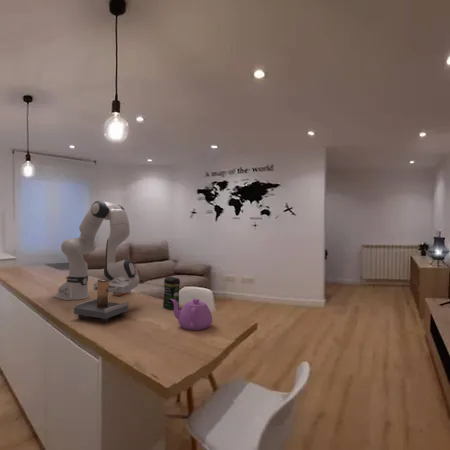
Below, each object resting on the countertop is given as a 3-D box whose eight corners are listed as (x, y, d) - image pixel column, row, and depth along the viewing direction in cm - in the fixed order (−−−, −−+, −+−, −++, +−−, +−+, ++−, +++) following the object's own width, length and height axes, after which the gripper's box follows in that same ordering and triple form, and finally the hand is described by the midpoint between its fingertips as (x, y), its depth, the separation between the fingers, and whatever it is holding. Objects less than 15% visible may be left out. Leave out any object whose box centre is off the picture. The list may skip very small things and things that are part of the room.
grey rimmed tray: (73, 319, 172) (74, 304, 171) (98, 311, 188) (98, 297, 188) (105, 324, 165) (106, 309, 165) (128, 315, 182) (128, 302, 182)
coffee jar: (160, 307, 202) (161, 276, 202) (171, 305, 208) (172, 275, 208) (171, 310, 196) (172, 278, 196) (181, 308, 202) (182, 277, 202)
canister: (94, 306, 175) (95, 280, 175) (101, 304, 180) (102, 278, 180) (103, 308, 173) (104, 281, 173) (110, 305, 178) (111, 279, 178)
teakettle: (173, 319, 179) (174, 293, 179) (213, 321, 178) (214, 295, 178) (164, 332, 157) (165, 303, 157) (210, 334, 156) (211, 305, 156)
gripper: (103, 278, 192) (86, 281, 179) (133, 281, 185) (117, 285, 172) (103, 288, 192) (85, 293, 179) (133, 292, 185) (117, 297, 172)
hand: (101, 289), depth 176 cm, fingers open, 8 cm apart
